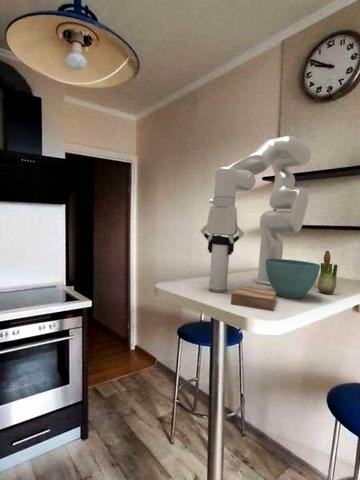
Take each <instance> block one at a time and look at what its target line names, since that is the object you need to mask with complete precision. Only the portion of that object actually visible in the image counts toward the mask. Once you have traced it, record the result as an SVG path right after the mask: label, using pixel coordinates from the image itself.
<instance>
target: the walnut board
mask: <svg viewBox="0 0 360 480" xmlns="http://www.w3.org/2000/svg"><path fill="white" fill-rule="evenodd" d="M276 301H277V293H276V291H275V290H274V289H273V290H270V289H263V288H259V287H251V286H250V287H249V286H243V285H240V286H238V287H237V289H235V290H234V291H233V292H232V293H231V296H230V304H231V305H233V306H234V305H236V306H242V307H246V308H247V307H248V308H255V309H259V310H266V311H271V312H272V311H273V310H274V307H275V303H276Z"/></svg>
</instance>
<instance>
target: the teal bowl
mask: <svg viewBox="0 0 360 480" xmlns="http://www.w3.org/2000/svg"><path fill="white" fill-rule="evenodd" d="M266 271H267V275H268V279H269V281H270V283H271V285H270V286H271V287H272V288H273V291H276V295H278V296H281V297H285V298H289V299H301V298H303V297H305V296H306V295H307V293H308V292H309V291H310V290H311V289H312V288H313V287H314V286H315V284H316V281H317V279H318V278H319V277H318V276H319V275H320V271H321V264H319V263H315V262H311V261H310V262H309V261H303V260H296V259H284V258H282V259H266Z"/></svg>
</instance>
